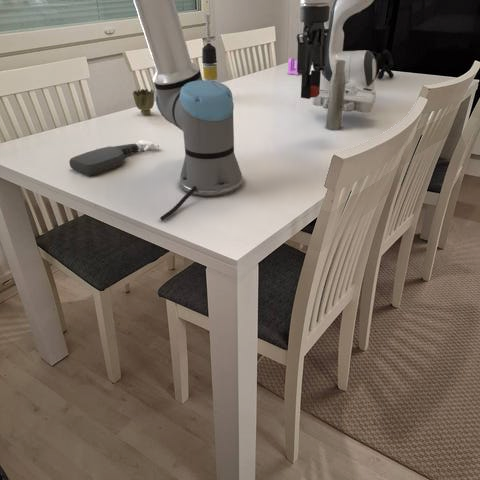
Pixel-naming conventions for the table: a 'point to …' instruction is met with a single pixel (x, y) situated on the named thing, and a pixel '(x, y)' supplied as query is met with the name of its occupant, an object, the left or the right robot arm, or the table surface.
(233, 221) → the table surface
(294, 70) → the bracket
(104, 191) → the table surface
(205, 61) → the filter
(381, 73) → the squiggle
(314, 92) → the cap
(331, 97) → the bottle
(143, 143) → the spray bottle
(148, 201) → the table surface
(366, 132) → the table surface
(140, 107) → the cup
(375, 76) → the right robot arm
